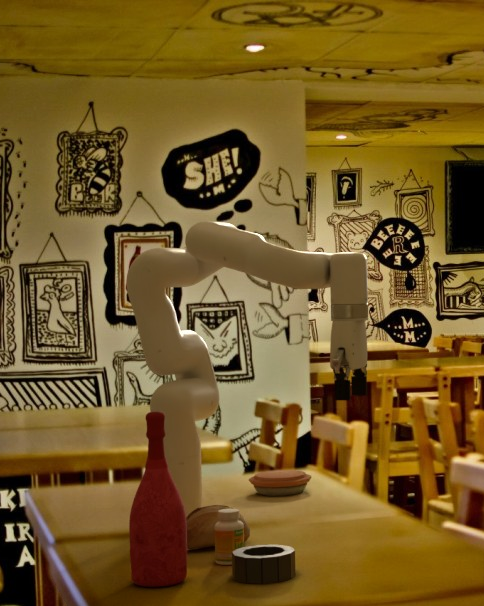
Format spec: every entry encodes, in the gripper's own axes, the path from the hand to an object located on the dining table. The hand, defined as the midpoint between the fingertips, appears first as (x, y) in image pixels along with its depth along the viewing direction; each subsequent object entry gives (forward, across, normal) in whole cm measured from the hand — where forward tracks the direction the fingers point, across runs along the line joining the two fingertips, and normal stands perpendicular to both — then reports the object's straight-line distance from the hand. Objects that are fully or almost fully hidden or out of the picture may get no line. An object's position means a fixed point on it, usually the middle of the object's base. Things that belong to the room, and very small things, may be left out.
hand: (351, 397), depth 251 cm
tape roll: (+28, +34, -5) cm, 45 cm away
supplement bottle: (+29, +25, -16) cm, 41 cm away
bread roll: (+29, +13, -25) cm, 40 cm away
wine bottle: (+29, +42, -21) cm, 55 cm away
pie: (+29, -48, -37) cm, 67 cm away
